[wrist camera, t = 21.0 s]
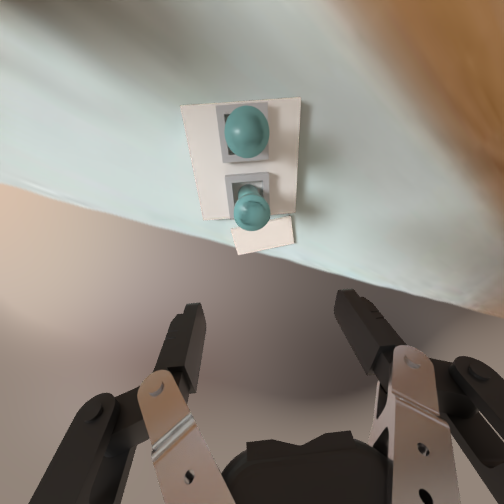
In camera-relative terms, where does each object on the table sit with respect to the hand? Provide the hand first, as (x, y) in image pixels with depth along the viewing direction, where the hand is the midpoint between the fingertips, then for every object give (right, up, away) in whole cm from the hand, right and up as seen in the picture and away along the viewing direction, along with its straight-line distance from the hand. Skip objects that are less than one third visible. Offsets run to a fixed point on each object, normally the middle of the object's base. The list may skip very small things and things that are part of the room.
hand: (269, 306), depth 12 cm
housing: (-2, +18, +22) cm, 28 cm away
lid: (+1, +7, +29) cm, 30 cm away
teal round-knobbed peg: (-2, +13, +22) cm, 26 cm away
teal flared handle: (-2, +21, +18) cm, 28 cm away
